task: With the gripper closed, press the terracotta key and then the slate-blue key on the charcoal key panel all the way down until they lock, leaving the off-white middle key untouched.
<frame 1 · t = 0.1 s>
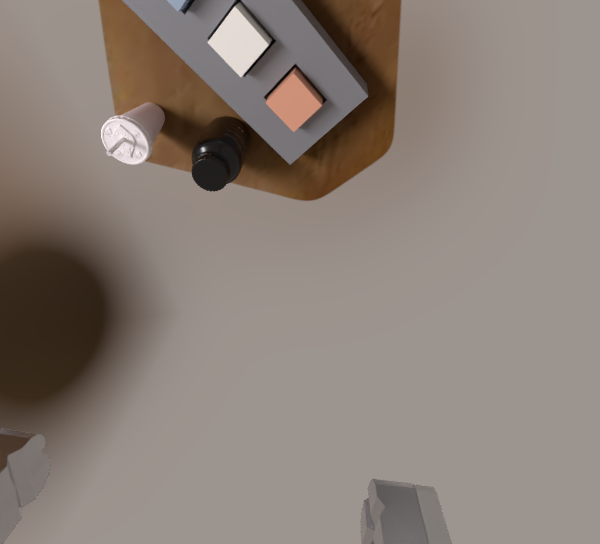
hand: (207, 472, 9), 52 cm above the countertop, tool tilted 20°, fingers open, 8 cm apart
supplement bottle: (229, 136, 58), on the countertop
key panel: (249, 30, 48), on the countertop
smoothie: (153, 114, 57), on the countertop
terracotta key: (295, 98, 48), point 5 cm above the countertop, slide at 0.0 cm
white key: (241, 39, 45), point 5 cm above the countertop, slide at 0.0 cm
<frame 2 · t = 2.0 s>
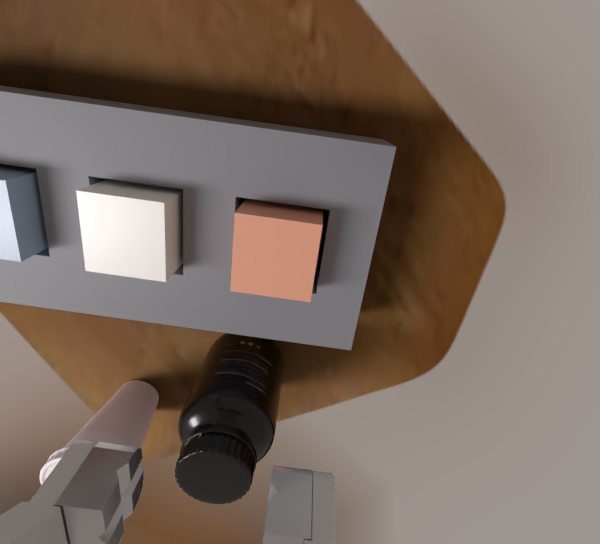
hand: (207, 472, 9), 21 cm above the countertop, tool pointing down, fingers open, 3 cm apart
supplement bottle: (247, 357, 34), on the countertop
key panel: (167, 208, 29), on the countertop
smoothie: (141, 393, 37), on the countertop
slate blue key: (0, 207, 24), point 5 cm above the countertop, slide at 0.0 cm
terracotta key: (278, 246, 24), point 5 cm above the countertop, slide at 0.0 cm
white key: (139, 227, 24), point 5 cm above the countertop, slide at 0.0 cm
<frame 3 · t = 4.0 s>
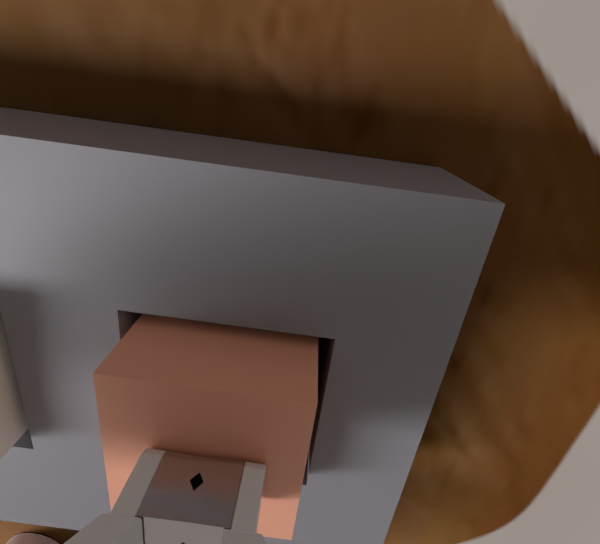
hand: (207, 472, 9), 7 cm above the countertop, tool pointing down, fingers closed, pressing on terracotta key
key panel: (35, 289, 16), on the countertop
terracotta key: (224, 401, 11), point 5 cm above the countertop, slide at 0.0 cm, touching gripper
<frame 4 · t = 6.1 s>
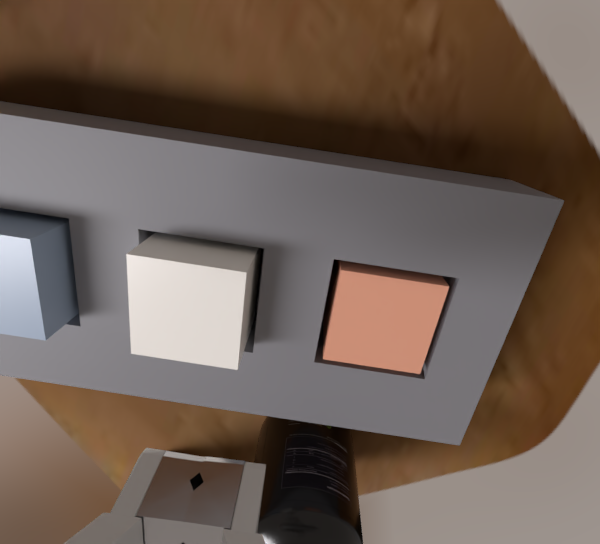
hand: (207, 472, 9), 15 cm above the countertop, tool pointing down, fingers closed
supplement bottle: (306, 430, 28), on the countertop
key panel: (224, 257, 23), on the countertop
slate blue key: (19, 265, 19), point 5 cm above the countertop, slide at 0.0 cm
terracotta key: (376, 303, 20), point 3 cm above the countertop, slide at 1.8 cm
white key: (200, 293, 19), point 5 cm above the countertop, slide at 0.0 cm
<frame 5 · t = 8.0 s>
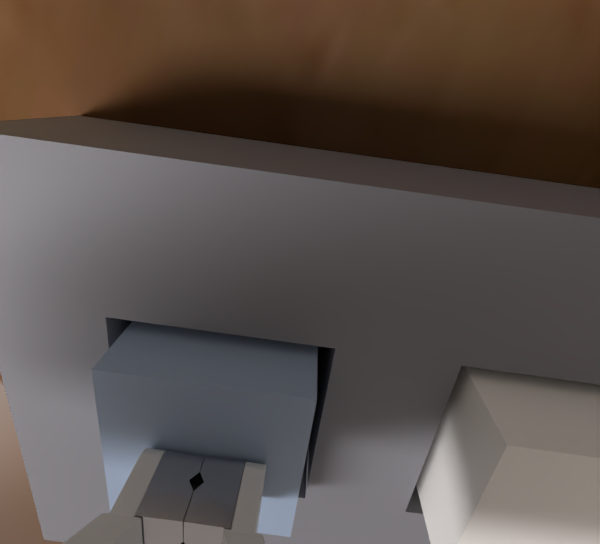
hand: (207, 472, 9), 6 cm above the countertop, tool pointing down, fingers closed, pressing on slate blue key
key panel: (468, 353, 15), on the countertop
slate blue key: (223, 398, 11), point 4 cm above the countertop, slide at 0.6 cm, touching gripper
white key: (527, 454, 11), point 5 cm above the countertop, slide at 0.0 cm
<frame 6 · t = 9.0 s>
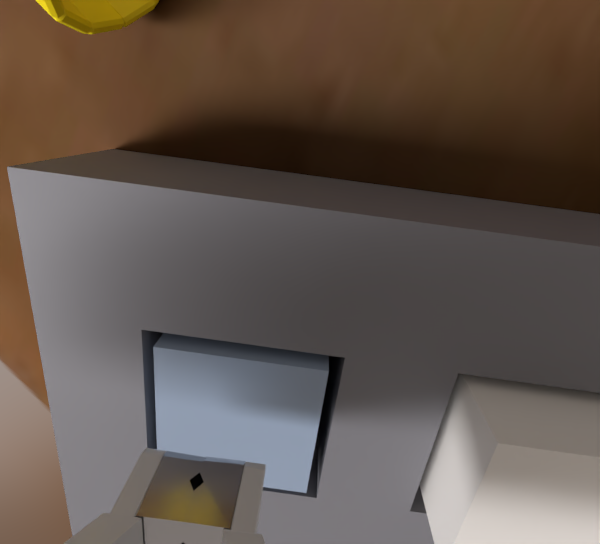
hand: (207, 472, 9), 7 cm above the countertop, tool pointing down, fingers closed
key panel: (468, 363, 16), on the countertop
slate blue key: (249, 379, 14), point 3 cm above the countertop, slide at 1.8 cm
white key: (521, 456, 12), point 5 cm above the countertop, slide at 0.0 cm
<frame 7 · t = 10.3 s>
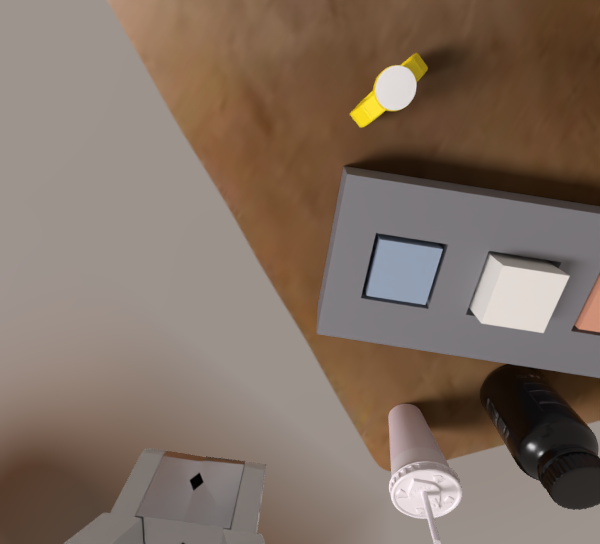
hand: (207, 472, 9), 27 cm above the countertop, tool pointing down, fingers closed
supplement bottle: (510, 386, 41), on the countertop
key panel: (487, 266, 35), on the countertop
watch: (381, 94, 31), on the countertop
smoothie: (404, 415, 43), on the countertop
slate blue key: (398, 263, 33), point 3 cm above the countertop, slide at 1.8 cm
white key: (510, 288, 31), point 5 cm above the countertop, slide at 0.0 cm
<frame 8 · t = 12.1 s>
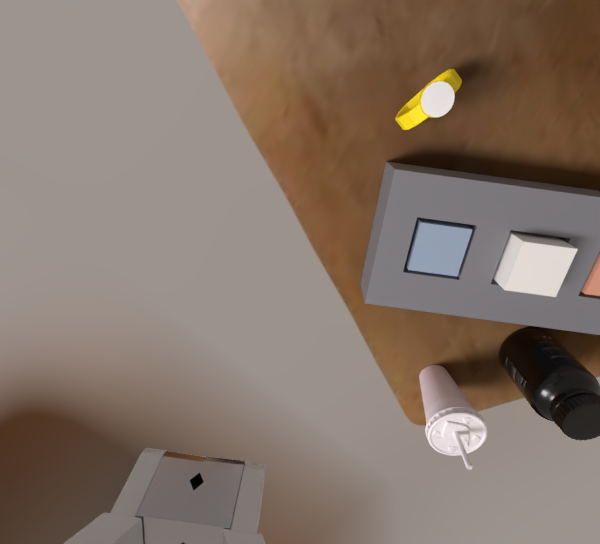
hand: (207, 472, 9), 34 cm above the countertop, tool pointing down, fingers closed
supplement bottle: (525, 348, 47), on the countertop
key panel: (506, 244, 42), on the countertop
watch: (419, 100, 37), on the countertop
smoothie: (433, 375, 50), on the countertop
slate blue key: (433, 242, 39), point 3 cm above the countertop, slide at 1.8 cm
white key: (528, 261, 37), point 5 cm above the countertop, slide at 0.0 cm
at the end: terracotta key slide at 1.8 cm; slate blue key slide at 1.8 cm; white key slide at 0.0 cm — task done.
